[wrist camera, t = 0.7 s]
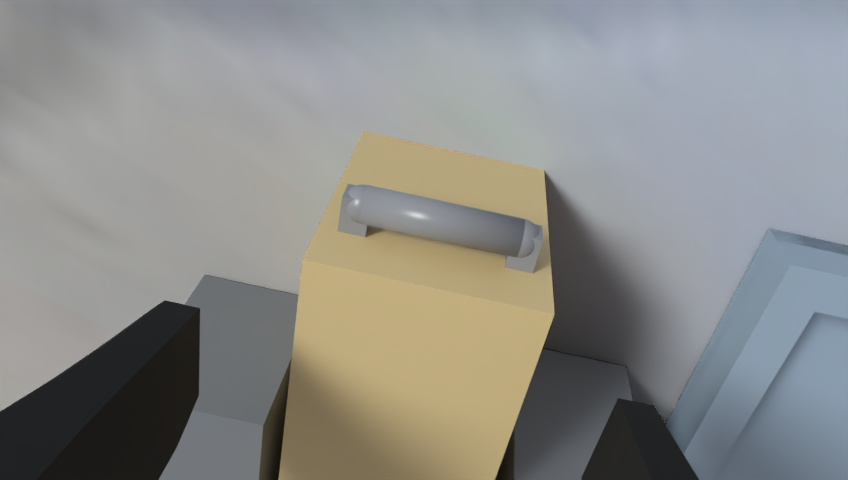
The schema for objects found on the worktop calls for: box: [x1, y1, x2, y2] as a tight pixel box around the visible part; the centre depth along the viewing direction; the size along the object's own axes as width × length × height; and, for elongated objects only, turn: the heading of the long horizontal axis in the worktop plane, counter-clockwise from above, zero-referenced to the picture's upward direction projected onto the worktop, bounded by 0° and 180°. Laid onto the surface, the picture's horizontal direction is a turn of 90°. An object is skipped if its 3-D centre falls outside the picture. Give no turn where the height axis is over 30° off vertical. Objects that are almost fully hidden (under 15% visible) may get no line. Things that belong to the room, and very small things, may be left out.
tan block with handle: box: [279, 131, 555, 480], centre depth 16 cm, size 4×11×6 cm, turn 169°
